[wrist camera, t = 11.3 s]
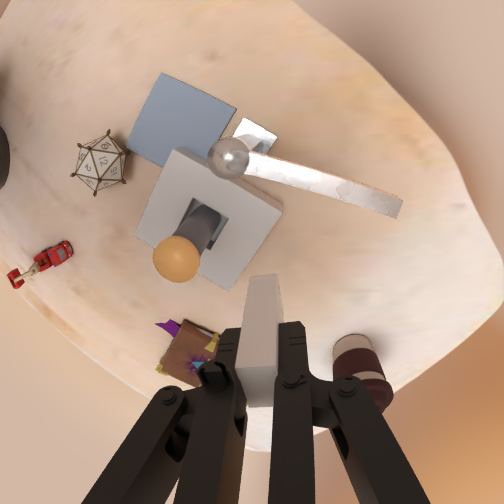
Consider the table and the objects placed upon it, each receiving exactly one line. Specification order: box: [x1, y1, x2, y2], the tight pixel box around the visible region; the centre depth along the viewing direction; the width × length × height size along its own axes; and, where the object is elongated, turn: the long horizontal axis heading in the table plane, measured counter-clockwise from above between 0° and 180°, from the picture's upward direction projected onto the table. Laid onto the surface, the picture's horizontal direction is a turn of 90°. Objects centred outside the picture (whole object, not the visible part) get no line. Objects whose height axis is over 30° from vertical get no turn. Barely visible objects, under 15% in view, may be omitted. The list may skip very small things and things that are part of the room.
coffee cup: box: [333, 335, 394, 413], centre depth 43 cm, size 10×10×15 cm
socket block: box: [134, 147, 283, 291], centre depth 39 cm, size 16×14×4 cm
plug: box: [153, 204, 221, 283], centre depth 34 cm, size 5×5×14 cm
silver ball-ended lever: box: [207, 137, 403, 218], centre depth 21 cm, size 3×16×2 cm, turn 77°
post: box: [233, 118, 277, 155], centre depth 29 cm, size 5×5×16 cm
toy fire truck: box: [7, 241, 73, 289], centre depth 43 cm, size 3×14×10 cm, turn 107°
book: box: [156, 319, 248, 407], centre depth 53 cm, size 16×25×5 cm, turn 61°
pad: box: [125, 73, 236, 168], centre depth 36 cm, size 12×12×1 cm
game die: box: [71, 129, 130, 197], centre depth 35 cm, size 9×8×10 cm
